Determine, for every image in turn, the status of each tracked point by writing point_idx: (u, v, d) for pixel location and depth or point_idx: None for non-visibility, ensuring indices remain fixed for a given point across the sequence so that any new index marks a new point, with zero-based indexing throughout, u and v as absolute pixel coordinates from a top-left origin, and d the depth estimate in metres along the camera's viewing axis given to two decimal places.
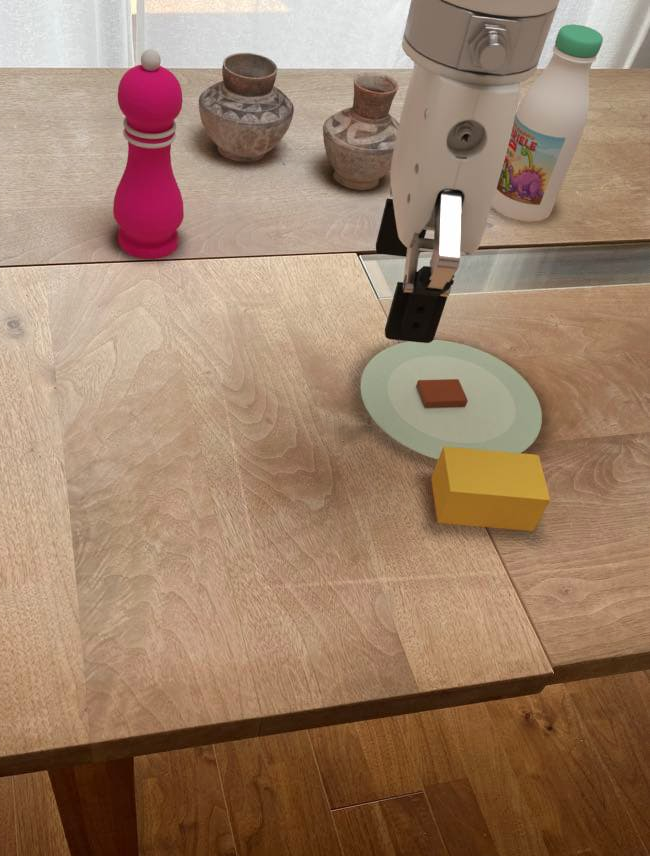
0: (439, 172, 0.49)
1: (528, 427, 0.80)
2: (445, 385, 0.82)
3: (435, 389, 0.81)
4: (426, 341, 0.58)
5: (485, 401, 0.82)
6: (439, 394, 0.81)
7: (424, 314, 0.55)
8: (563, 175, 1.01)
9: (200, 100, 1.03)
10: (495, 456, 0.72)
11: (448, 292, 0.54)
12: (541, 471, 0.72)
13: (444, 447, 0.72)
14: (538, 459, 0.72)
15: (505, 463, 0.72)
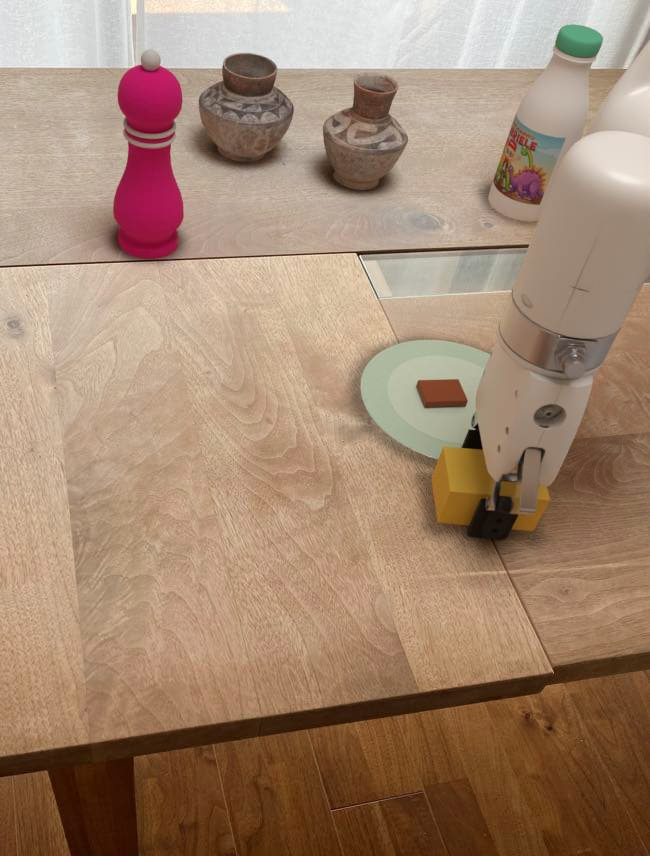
0: (526, 436, 0.62)
1: None
2: (445, 385, 0.82)
3: (435, 389, 0.81)
4: (501, 538, 0.71)
5: None
6: (439, 394, 0.81)
7: (502, 523, 0.69)
8: None
9: (200, 100, 1.03)
10: None
11: None
12: None
13: (444, 447, 0.72)
14: None
15: None
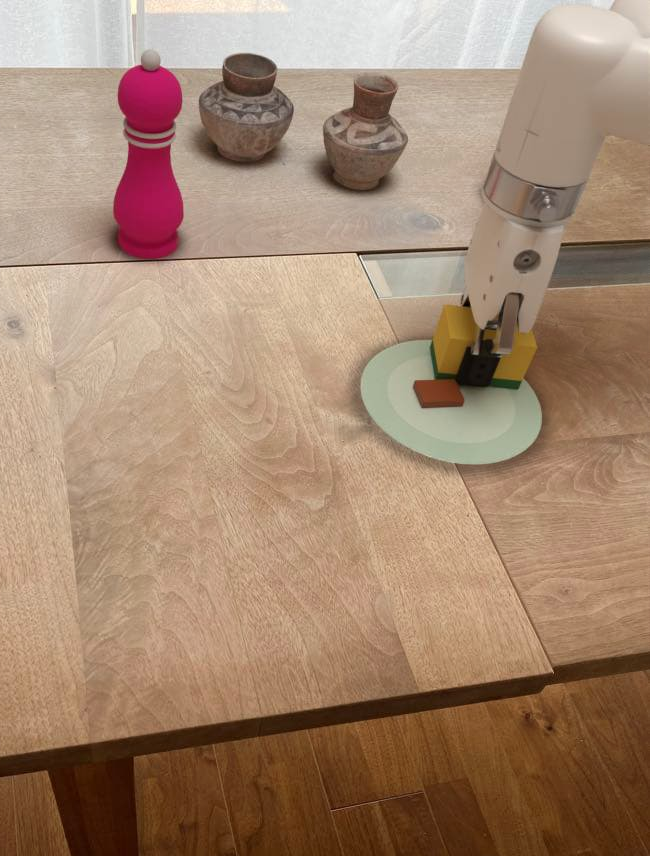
0: (507, 282, 0.72)
1: (528, 427, 0.80)
2: (442, 385, 0.82)
3: (432, 389, 0.81)
4: (484, 386, 0.83)
5: (485, 401, 0.82)
6: (436, 394, 0.81)
7: (485, 369, 0.80)
8: None
9: (200, 100, 1.03)
10: None
11: (502, 355, 0.78)
12: None
13: (445, 305, 0.82)
14: None
15: None
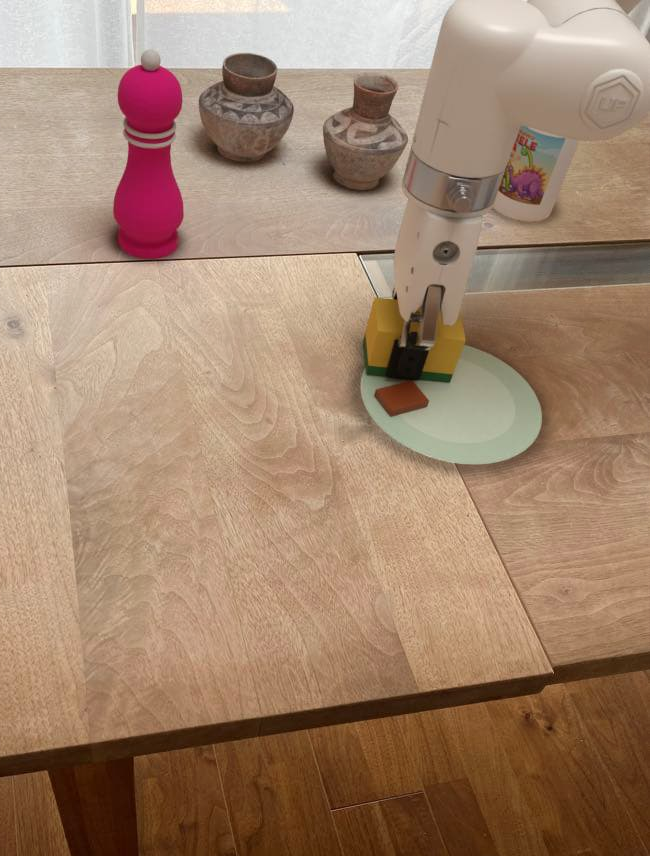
0: (428, 273, 0.72)
1: (528, 427, 0.80)
2: (403, 389, 0.81)
3: (395, 395, 0.80)
4: (415, 379, 0.82)
5: (485, 401, 0.82)
6: (401, 400, 0.80)
7: (413, 362, 0.80)
8: (563, 175, 1.01)
9: (200, 100, 1.03)
10: None
11: (429, 347, 0.78)
12: (459, 318, 0.81)
13: (375, 298, 0.82)
14: None
15: None
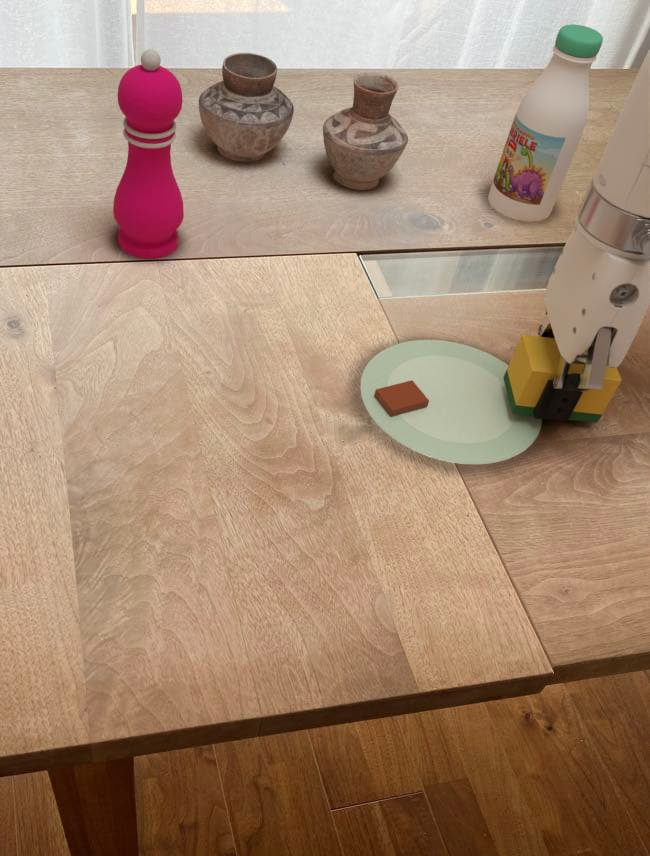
0: (601, 316, 0.69)
1: (528, 427, 0.80)
2: (403, 389, 0.81)
3: (395, 395, 0.80)
4: (563, 420, 0.79)
5: (485, 401, 0.82)
6: (401, 400, 0.80)
7: (566, 403, 0.77)
8: (563, 175, 1.01)
9: (200, 100, 1.03)
10: None
11: (587, 389, 0.75)
12: None
13: (523, 335, 0.79)
14: None
15: None
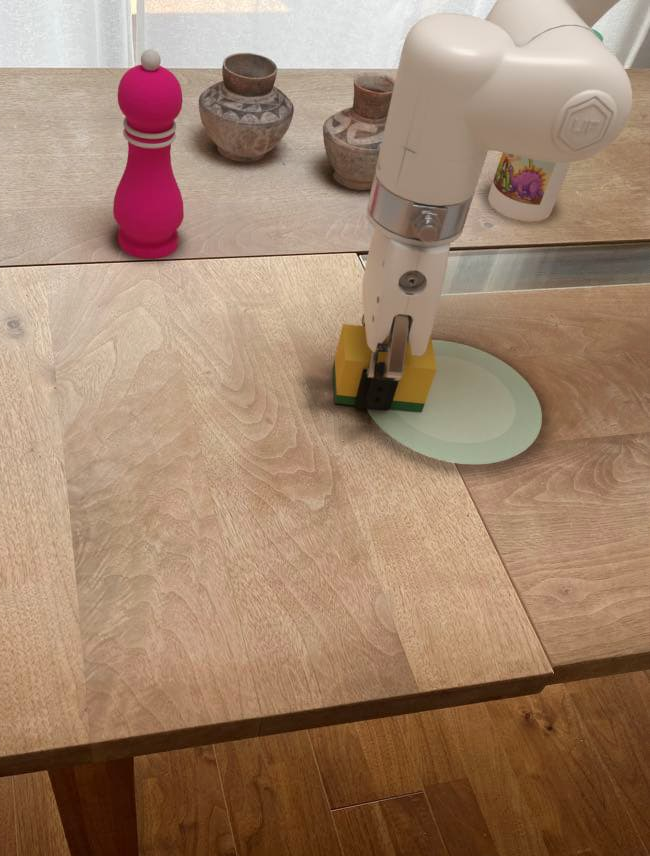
0: (394, 303, 0.68)
1: (528, 427, 0.80)
2: None
3: None
4: (385, 409, 0.79)
5: (485, 401, 0.82)
6: None
7: (382, 392, 0.77)
8: (563, 175, 1.01)
9: (200, 100, 1.03)
10: None
11: None
12: (431, 346, 0.78)
13: (343, 324, 0.79)
14: None
15: None
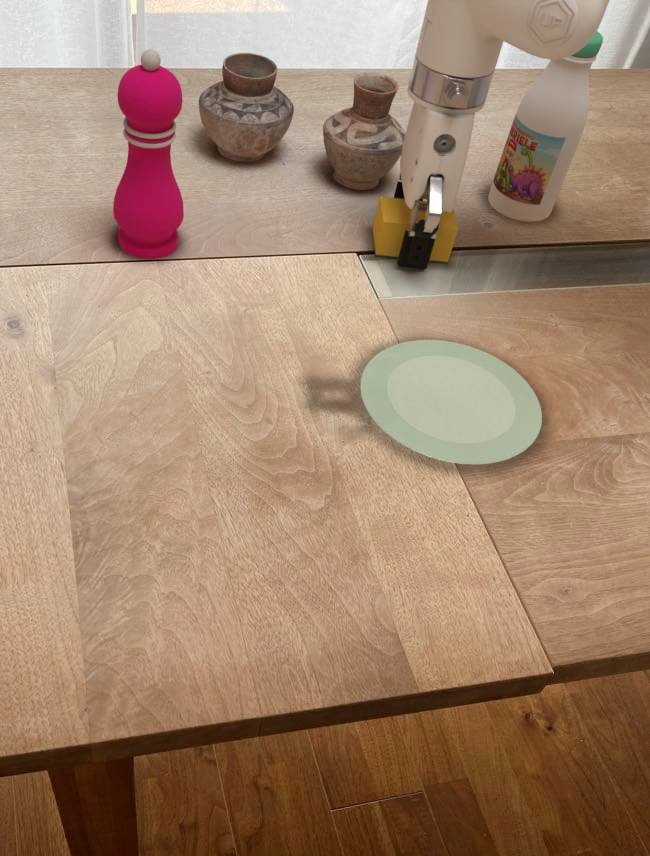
0: (429, 164, 0.86)
1: (528, 427, 0.80)
2: None
3: None
4: (422, 268, 0.94)
5: (485, 401, 0.82)
6: None
7: (421, 250, 0.92)
8: (563, 175, 1.01)
9: (200, 100, 1.03)
10: None
11: (435, 235, 0.90)
12: (453, 213, 0.95)
13: (381, 197, 0.96)
14: None
15: None
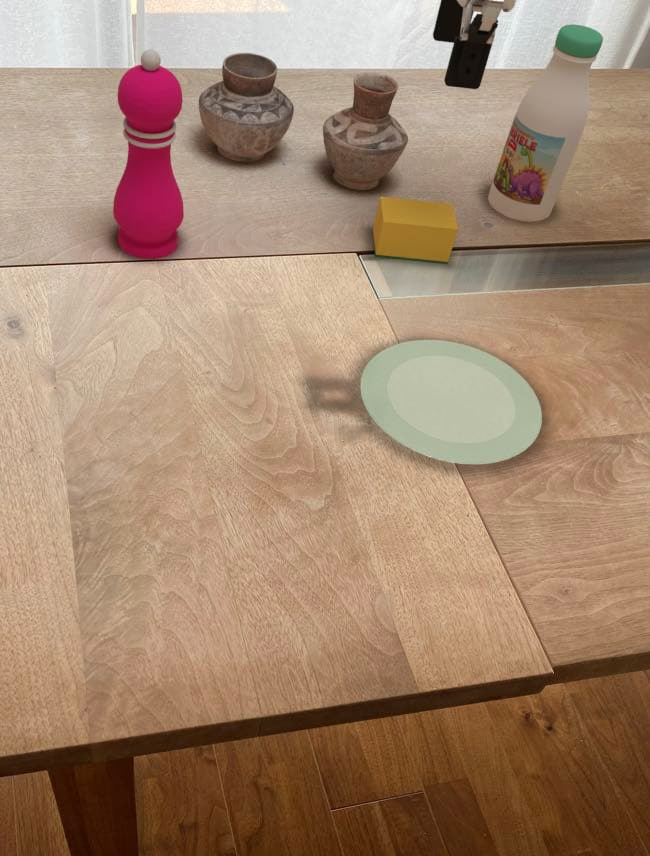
0: None
1: (528, 427, 0.80)
2: None
3: None
4: (474, 87, 0.80)
5: (485, 401, 0.82)
6: None
7: (474, 60, 0.77)
8: (563, 175, 1.01)
9: (200, 100, 1.03)
10: (419, 203, 0.96)
11: (492, 39, 0.76)
12: (453, 213, 0.95)
13: (381, 197, 0.96)
14: (451, 206, 0.96)
15: (426, 207, 0.96)
